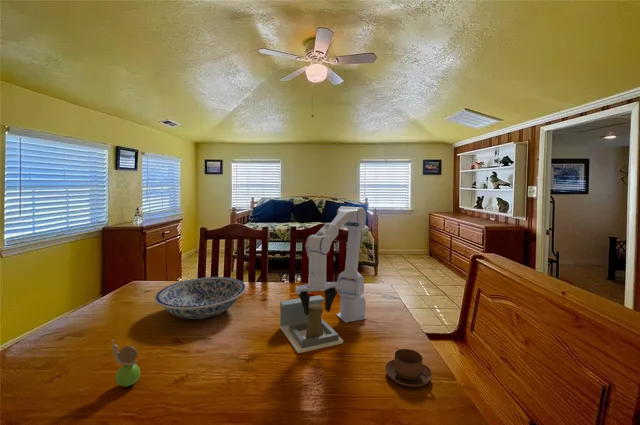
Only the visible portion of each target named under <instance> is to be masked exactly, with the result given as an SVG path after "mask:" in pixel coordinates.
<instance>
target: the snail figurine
mask: <svg viewBox="0 0 640 425" xmlns="http://www.w3.org/2000/svg"><path fill="white" fill-rule="evenodd" d="M114 342H115V339H112V341H111V342H110V344H112V345H111V350H112V353H113V356H114V357H113V358H114V360H115V361H116V363H118V364H119V365H121V367H119V369H118V370H117V371H116V373H115V381H116V382H115V383H116V384H117V385H118V386H120V387H124V388H127V387H130V386H133V385H134V384H136V383H137V382H138V380H139V378H140V375H141V369H140V366H139V365H138V364H137V363H138V362H139V359H137V358H138V353H139V352H138V350H137V348H136V347H134V346H133V345H126V346H123V347H122V348H121V349H120V350H119V345H118V344H116V343H114Z"/></svg>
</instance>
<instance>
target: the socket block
mask: <svg viewBox="0 0 640 425" xmlns="http://www.w3.org/2000/svg"><path fill="white" fill-rule="evenodd" d="M323 302H324V303H325V297H323V296H322V295H314V296H313V295H312V296H310V299H309V306H310V305H312V304H317V305H320V306H321V307H322V303H323ZM308 317H309V315H305V313H304V309H303V305H302V302H301V299H300V297H299V298H293V299H286V300H280V301H279V328H280V330H281V332H282V333H283V334H284V335H285V337H286V338H287V339H288V341H289V343H290V344H291V345H292V346H293V349H294V350H295V351H296V353H297V354H300V353H306V352H310V351H314V350H319V349H324V348H327V347H332V346H337V345H341V344H344V339H343V338H342V337H341V336H340V335H339V333H338V332H337V331H336V330H335V329H333V328H332V327H331V326H330V325H329V324H328V323H327V322H326V321H325V320H324V319H323V318H321V321H322V329H323V336H318V337H313V338H308V339H306V331H307V324H308Z"/></svg>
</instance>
